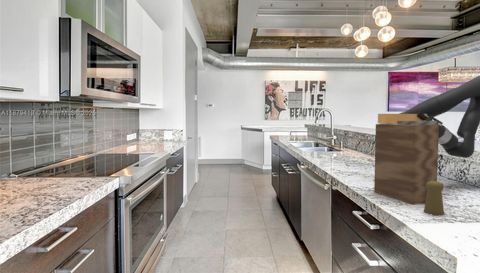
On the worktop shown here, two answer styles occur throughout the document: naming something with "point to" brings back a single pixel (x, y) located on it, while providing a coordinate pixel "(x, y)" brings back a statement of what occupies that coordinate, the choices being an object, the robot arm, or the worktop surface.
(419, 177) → the walnut stand
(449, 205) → the worktop surface
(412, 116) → the wooden bar
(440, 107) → the robot arm
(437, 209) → the cork
